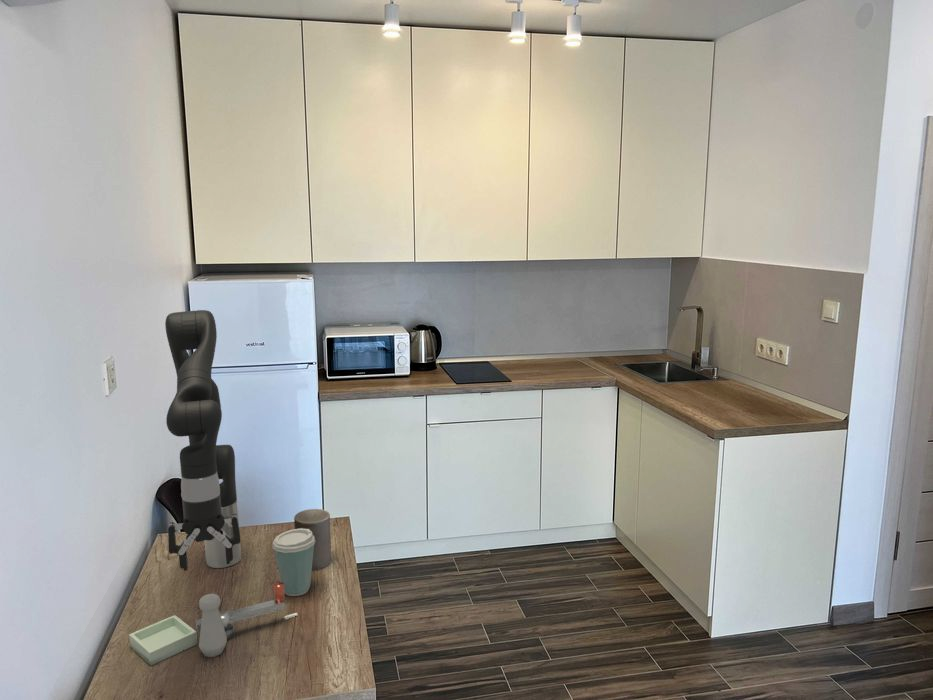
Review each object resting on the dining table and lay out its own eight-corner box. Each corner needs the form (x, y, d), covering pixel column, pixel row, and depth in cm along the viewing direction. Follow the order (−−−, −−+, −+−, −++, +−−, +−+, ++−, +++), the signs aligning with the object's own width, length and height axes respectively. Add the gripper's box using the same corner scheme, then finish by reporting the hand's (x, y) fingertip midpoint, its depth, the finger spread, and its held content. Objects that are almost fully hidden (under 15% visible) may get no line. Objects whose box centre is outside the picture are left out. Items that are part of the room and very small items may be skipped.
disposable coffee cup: (276, 604, 173) (272, 547, 170) (273, 583, 183) (270, 529, 180) (320, 596, 176) (317, 540, 173) (315, 576, 186) (312, 523, 183)
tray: (130, 646, 156) (129, 634, 155) (175, 626, 163) (174, 615, 163) (151, 665, 149) (149, 652, 148) (197, 643, 157) (196, 631, 156)
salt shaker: (218, 661, 150) (213, 605, 148) (194, 658, 151) (189, 602, 149) (232, 645, 156) (228, 591, 154) (209, 642, 157) (204, 589, 155)
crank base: (209, 637, 159) (209, 629, 159) (227, 628, 162) (226, 620, 162) (219, 644, 156) (218, 636, 156) (237, 636, 159) (236, 627, 159)
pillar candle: (289, 568, 191) (286, 516, 188) (306, 552, 200) (304, 502, 197) (322, 572, 188) (319, 520, 185) (338, 556, 197) (336, 506, 195)
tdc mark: (285, 619, 166) (285, 617, 166) (284, 618, 166) (284, 616, 166) (297, 616, 167) (297, 614, 167) (296, 614, 168) (296, 612, 168)
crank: (198, 638, 155) (195, 609, 154) (196, 630, 158) (193, 602, 157) (287, 614, 164) (285, 586, 163) (283, 606, 167) (281, 580, 166)
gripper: (236, 483, 153) (241, 553, 156) (165, 492, 149) (172, 563, 151) (236, 495, 146) (242, 568, 149) (162, 505, 142) (169, 579, 144)
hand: (207, 565), depth 150 cm, fingers open, 8 cm apart
